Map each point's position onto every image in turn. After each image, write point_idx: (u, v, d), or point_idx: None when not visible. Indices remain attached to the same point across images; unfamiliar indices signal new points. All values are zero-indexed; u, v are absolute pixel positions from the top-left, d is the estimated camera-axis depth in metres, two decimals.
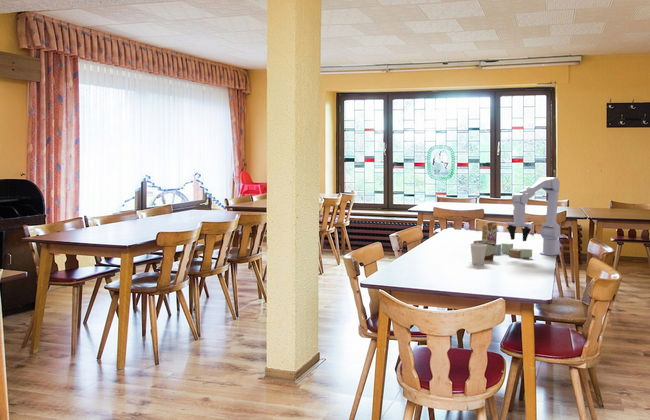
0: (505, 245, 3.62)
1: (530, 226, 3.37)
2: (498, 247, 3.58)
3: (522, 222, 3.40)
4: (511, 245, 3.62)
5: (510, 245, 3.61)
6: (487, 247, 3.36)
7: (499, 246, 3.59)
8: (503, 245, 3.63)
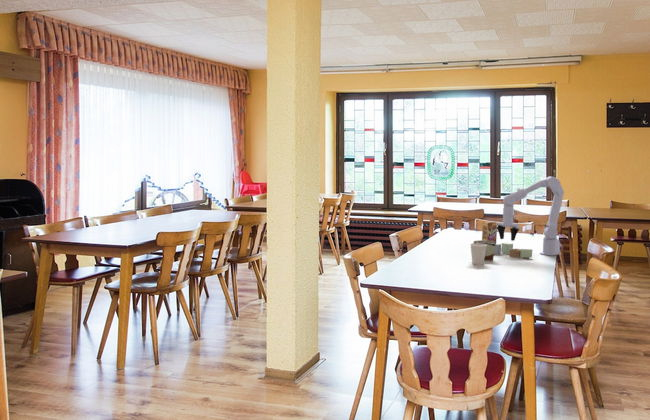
0: (505, 245, 3.62)
1: (518, 226, 3.56)
2: (498, 247, 3.58)
3: (511, 222, 3.59)
4: (511, 245, 3.62)
5: (510, 245, 3.61)
6: (487, 247, 3.36)
7: (499, 246, 3.59)
8: (503, 245, 3.63)
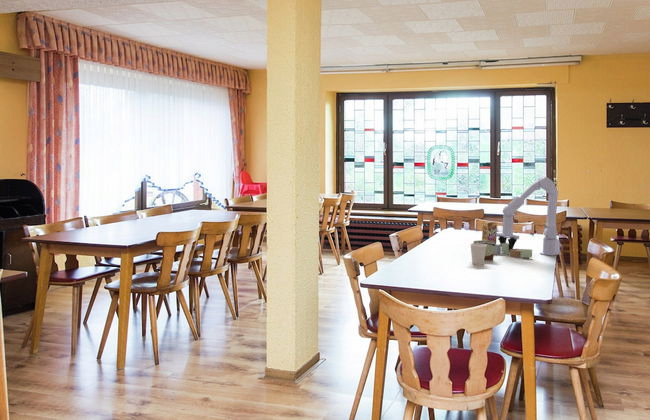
0: (505, 245, 3.62)
1: (518, 237, 3.57)
2: (498, 247, 3.58)
3: (510, 233, 3.60)
4: None
5: None
6: (487, 247, 3.36)
7: (499, 246, 3.59)
8: (503, 245, 3.63)
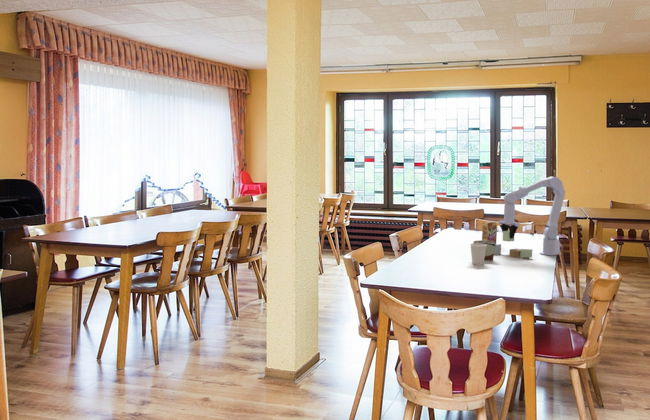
0: (506, 233, 3.60)
1: (518, 224, 3.54)
2: (498, 247, 3.58)
3: (511, 220, 3.58)
4: None
5: None
6: (487, 247, 3.36)
7: (499, 246, 3.59)
8: (504, 233, 3.61)
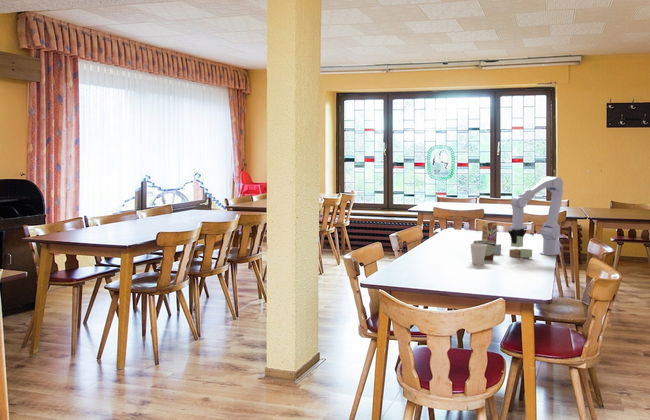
0: None
1: (509, 229, 3.46)
2: (498, 247, 3.58)
3: (513, 225, 3.49)
4: None
5: None
6: (487, 247, 3.36)
7: (499, 246, 3.59)
8: None
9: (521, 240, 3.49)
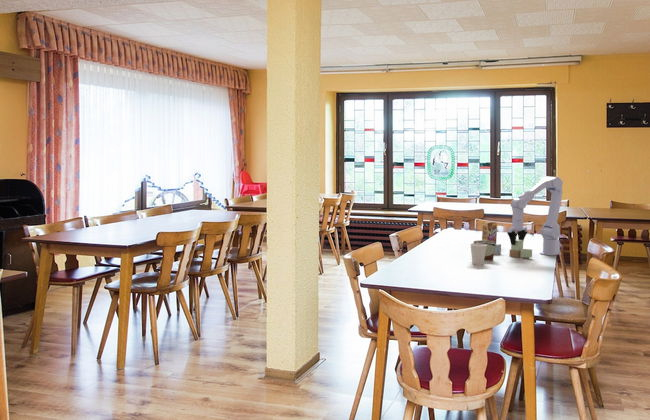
0: None
1: (509, 230, 3.46)
2: (498, 247, 3.58)
3: (513, 226, 3.49)
4: (516, 242, 3.48)
5: None
6: (487, 247, 3.36)
7: (499, 246, 3.59)
8: None
9: (521, 243, 3.49)
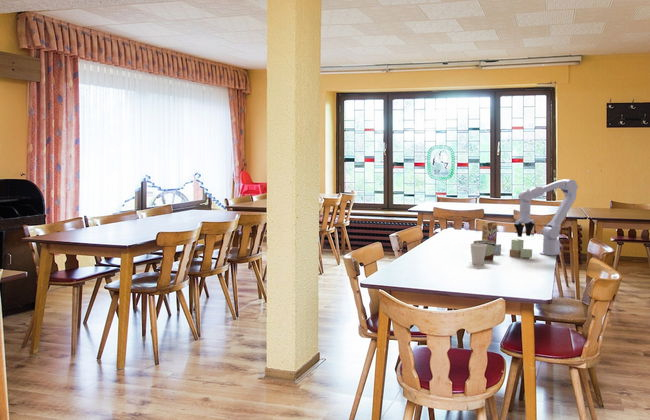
0: None
1: (516, 222, 3.52)
2: (498, 247, 3.58)
3: (520, 218, 3.55)
4: (516, 242, 3.49)
5: (514, 241, 3.49)
6: (487, 247, 3.36)
7: (499, 246, 3.59)
8: None
9: (521, 243, 3.49)
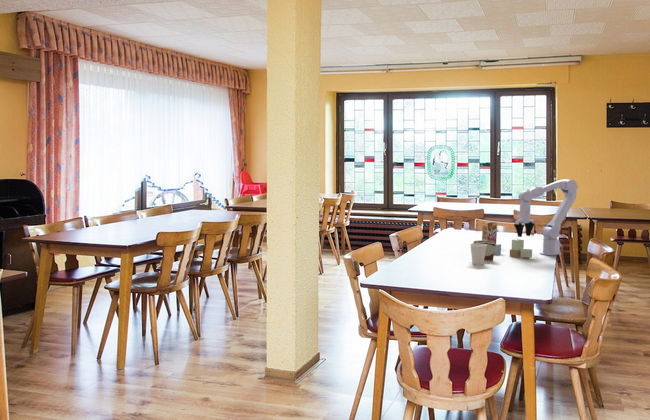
0: None
1: (516, 222, 3.52)
2: (498, 247, 3.58)
3: (520, 218, 3.55)
4: (516, 241, 3.49)
5: (514, 241, 3.50)
6: (487, 247, 3.36)
7: (499, 246, 3.59)
8: None
9: (522, 243, 3.49)
